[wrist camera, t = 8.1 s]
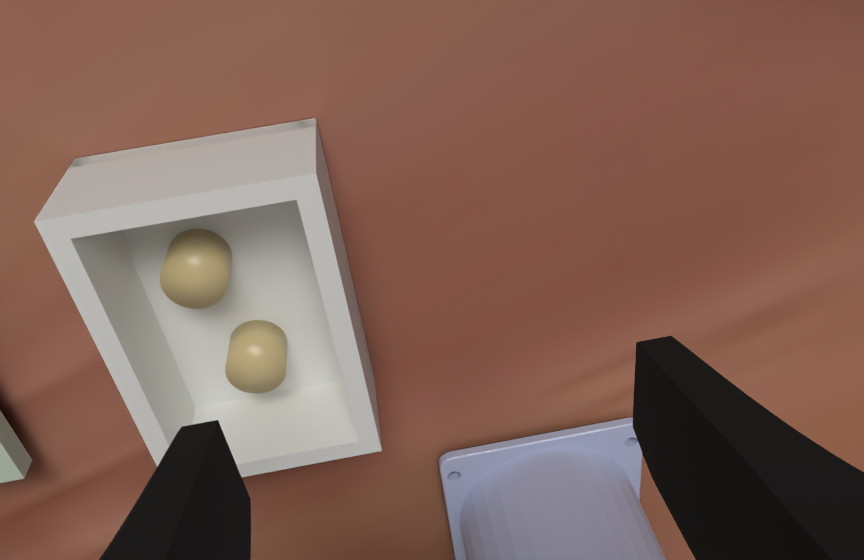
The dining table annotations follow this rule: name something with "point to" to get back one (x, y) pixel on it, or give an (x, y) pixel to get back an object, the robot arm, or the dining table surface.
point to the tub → (221, 293)
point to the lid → (12, 454)
